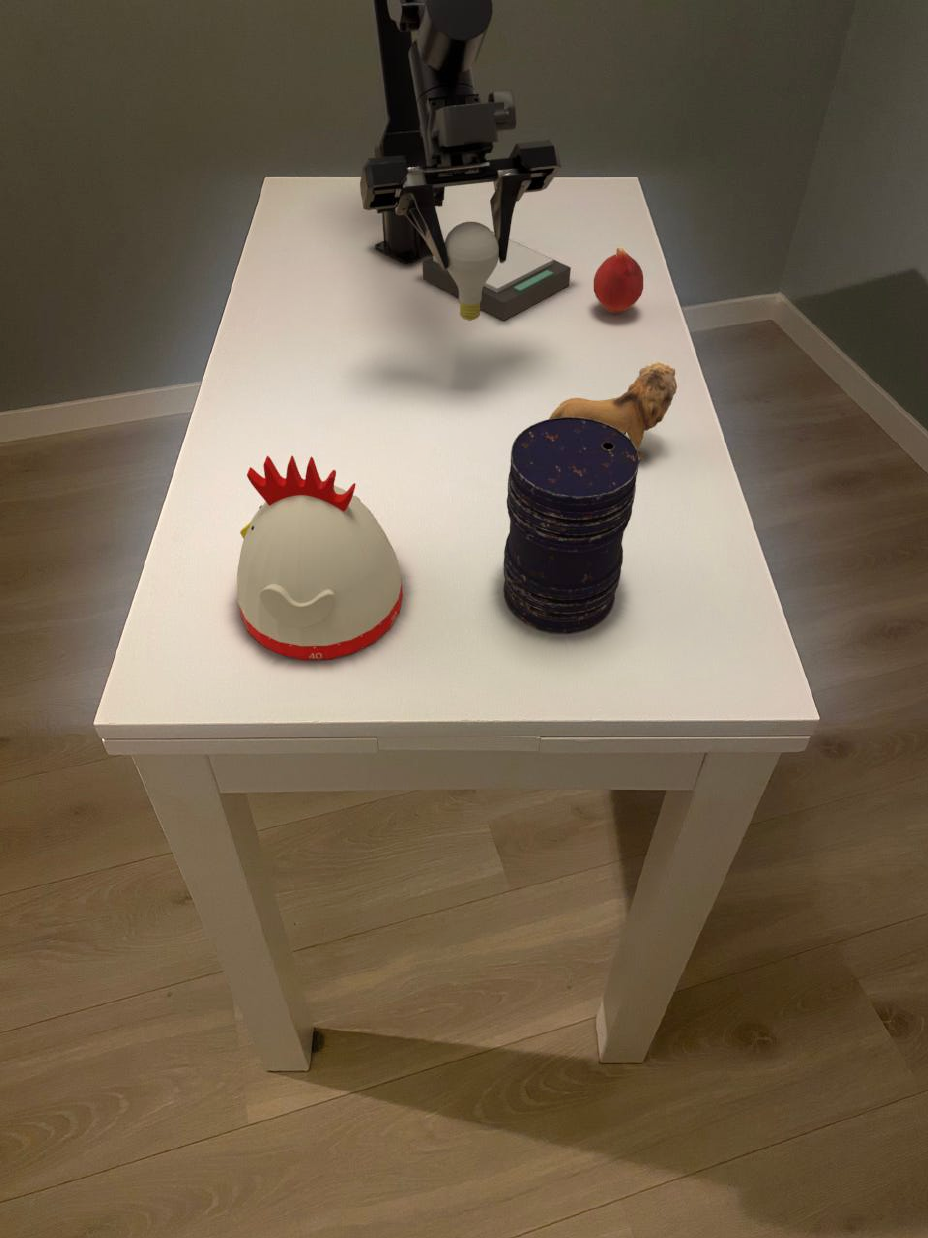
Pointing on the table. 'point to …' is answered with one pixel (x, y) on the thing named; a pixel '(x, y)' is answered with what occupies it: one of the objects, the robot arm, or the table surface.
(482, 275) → the light bulb
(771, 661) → the table surface
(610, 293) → the onion
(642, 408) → the lion figurine
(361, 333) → the table surface
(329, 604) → the kitchen timer
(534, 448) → the rusty blue oil drum
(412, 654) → the table surface
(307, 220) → the table surface
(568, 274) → the kitchen scale
